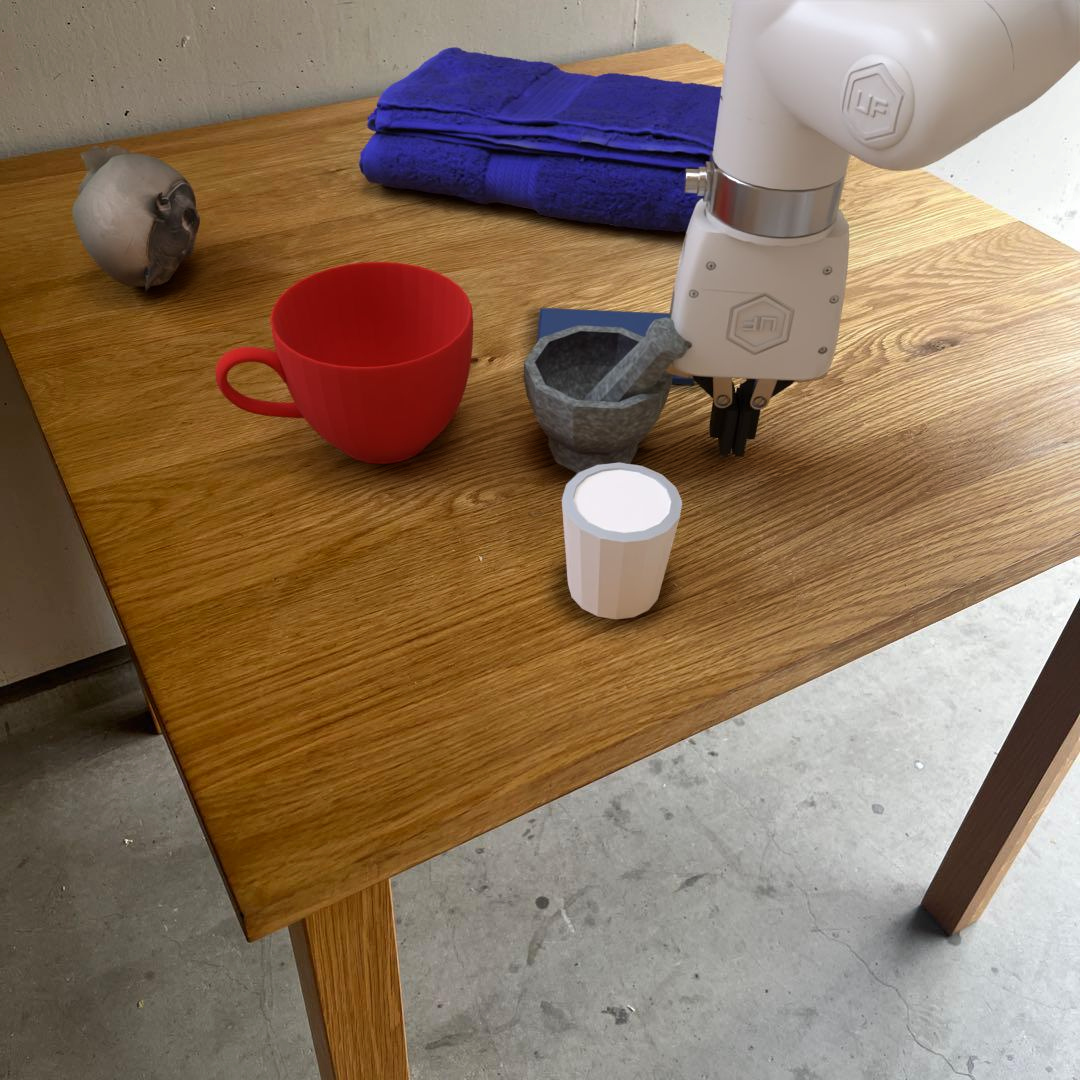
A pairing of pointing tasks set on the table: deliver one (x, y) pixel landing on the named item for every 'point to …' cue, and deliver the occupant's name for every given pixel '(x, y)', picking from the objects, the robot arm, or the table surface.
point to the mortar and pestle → (600, 389)
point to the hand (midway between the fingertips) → (729, 443)
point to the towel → (544, 139)
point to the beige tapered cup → (618, 537)
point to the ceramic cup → (367, 357)
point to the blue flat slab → (600, 324)
